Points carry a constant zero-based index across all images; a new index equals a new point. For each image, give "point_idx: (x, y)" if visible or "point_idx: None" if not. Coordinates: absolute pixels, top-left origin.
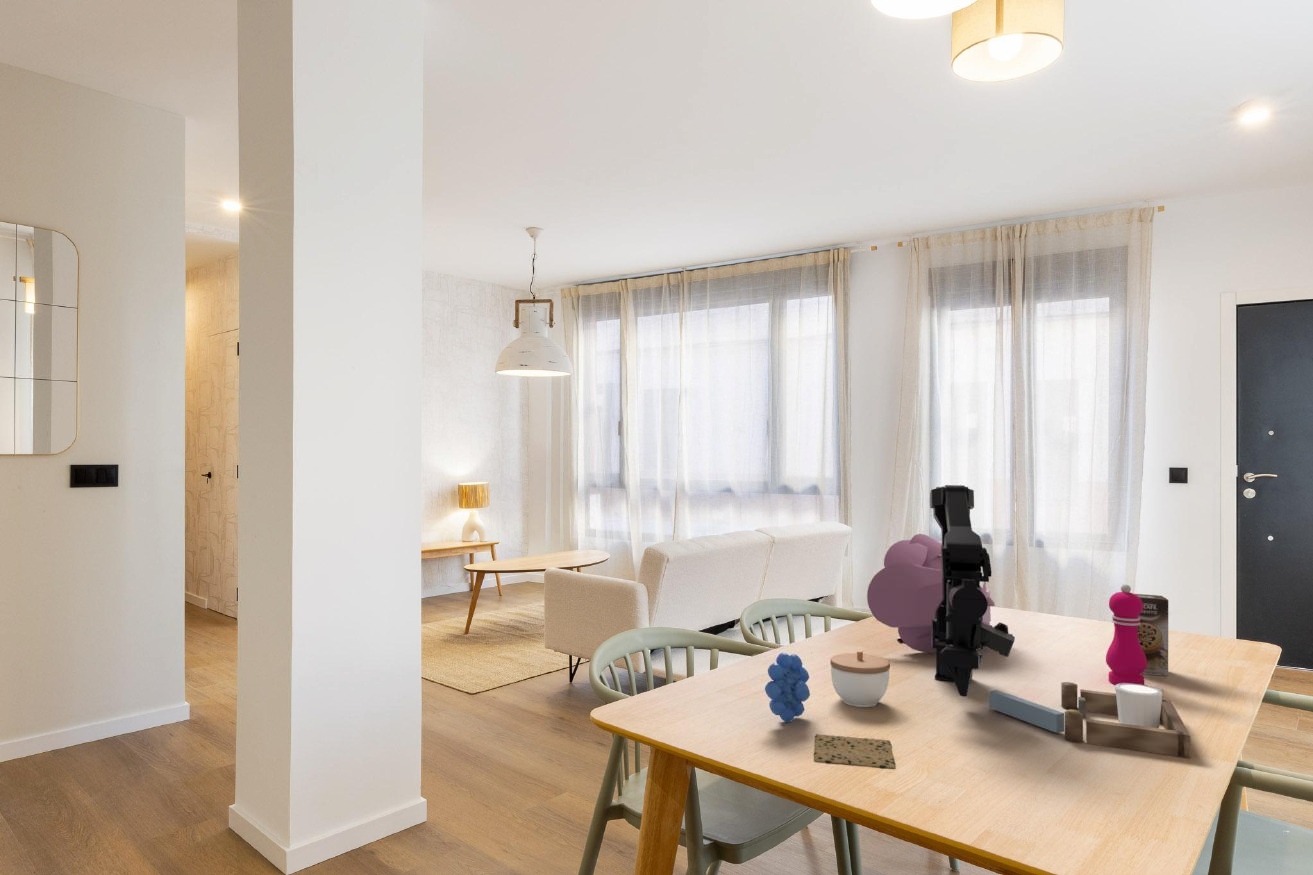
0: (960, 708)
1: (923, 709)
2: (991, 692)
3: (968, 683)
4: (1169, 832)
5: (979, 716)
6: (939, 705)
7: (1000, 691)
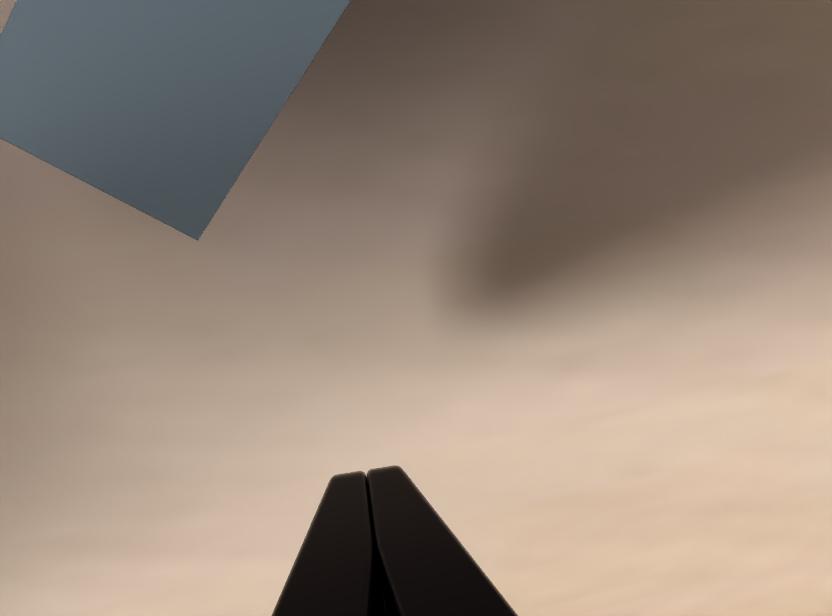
0: (387, 403)
1: (603, 610)
2: (229, 182)
3: (512, 611)
4: None
5: (603, 165)
6: None
7: (59, 4)
